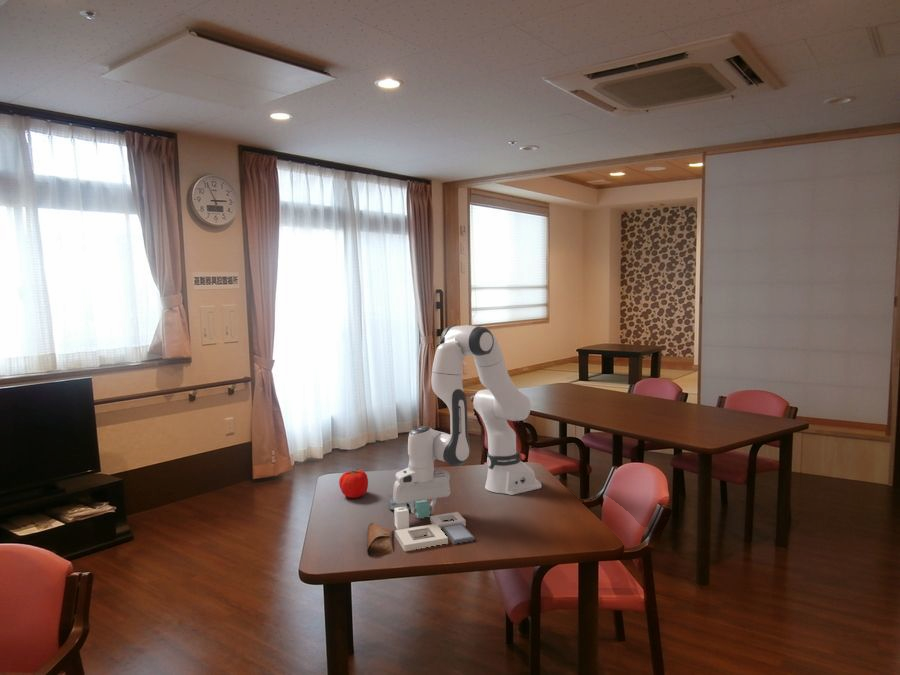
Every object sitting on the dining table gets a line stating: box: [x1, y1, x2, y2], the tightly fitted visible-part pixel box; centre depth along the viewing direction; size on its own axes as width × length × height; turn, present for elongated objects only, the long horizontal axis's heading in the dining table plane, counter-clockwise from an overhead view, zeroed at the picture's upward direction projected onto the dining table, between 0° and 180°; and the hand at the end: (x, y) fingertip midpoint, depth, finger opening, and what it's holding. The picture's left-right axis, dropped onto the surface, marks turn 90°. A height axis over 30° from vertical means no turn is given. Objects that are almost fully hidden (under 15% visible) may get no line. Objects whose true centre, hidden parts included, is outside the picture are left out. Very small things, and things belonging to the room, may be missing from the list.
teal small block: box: [414, 499, 431, 519], centre depth 207 cm, size 4×4×5 cm
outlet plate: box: [394, 523, 449, 552], centre depth 187 cm, size 14×12×2 cm
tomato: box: [338, 467, 369, 499], centre depth 229 cm, size 11×13×10 cm
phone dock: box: [429, 511, 476, 545], centre depth 194 cm, size 10×20×2 cm, turn 19°
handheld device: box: [388, 493, 415, 511], centre depth 221 cm, size 10×20×5 cm, turn 179°
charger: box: [393, 506, 410, 530], centre depth 198 cm, size 4×4×6 cm
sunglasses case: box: [366, 522, 395, 556], centre depth 186 cm, size 18×7×7 cm
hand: (422, 511), depth 207 cm, fingers open, 5 cm apart
